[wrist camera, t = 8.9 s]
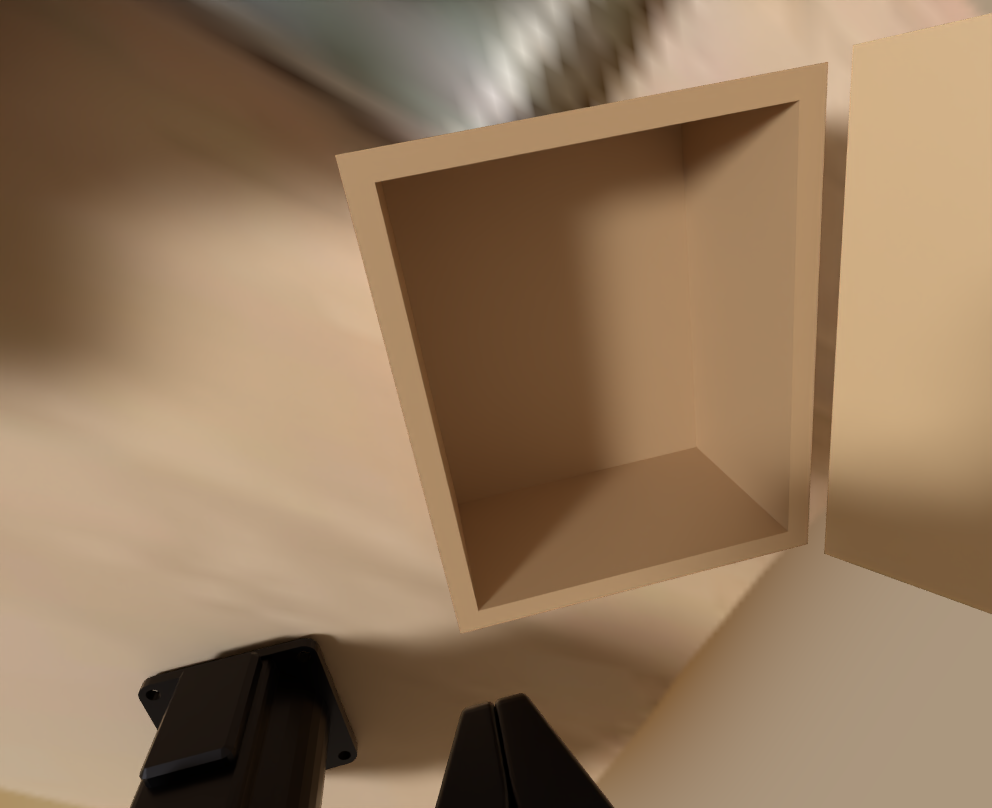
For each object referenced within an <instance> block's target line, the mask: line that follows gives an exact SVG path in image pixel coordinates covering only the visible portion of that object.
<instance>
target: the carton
mask: <svg viewBox="0 0 992 808" xmlns="http://www.w3.org/2000/svg"><path fill="white" fill-rule="evenodd" d="M827 74H828V62H825V63H820V64H815V65H809V66H804V67H799V68H793V69H788V70H783V71H778V72H772V73H767V74H762V75H756V76H751V77H746V78H741V79H735V80H730V81H725V82H719V83H714V84H709V85H703V86H698V87H693V88H688V89H682V90H677V91H672V92H666V93H661V94H656V95H651V96H645V97H640V98H635V99H629V100H624V101H619V102H613V103H608V104H603V105H598V106H592V107H587V108H582V109H576V110H571V111H566V112H561V113H555V114H550V115H545V116H539V117H534V118H529V119H523V120H518V121H513V122H508V123H502V124H497V125H492V126H486V127H481V128H476V129H471V130H465V131H460V132H455V133H449V134H444V135H439V136H433V137H428V138H423V139H418V140H412V141H407V142H402V143H396V144H391V145H386V146H381V147H375V148H370V149H365V150H359V151H354V152H349V153H343V154H338V155H335V157H336V161H337V165H338V168H339V172H340V176H341V180H342V184H343V188H344V191H345V195H346V199H347V203H348V207H349V210H350V214H351V218H352V222H353V226H354V229H355V233H356V237H357V241H358V245H359V248H360V252H361V256H362V260H363V264H364V267H365V271H366V275H367V279H368V283H369V286H370V290H371V294H372V298H373V302H374V306H375V309H376V313H377V317H378V321H379V325H380V328H381V332H382V336H383V340H384V344H385V347H386V351H387V355H388V359H389V363H390V366H391V370H392V374H393V378H394V382H395V385H396V389H397V393H398V397H399V401H400V405H401V408H402V412H403V416H404V420H405V424H406V427H407V431H408V435H409V439H410V443H411V446H412V450H413V454H414V458H415V462H416V465H417V469H418V473H419V477H420V481H421V484H422V488H423V492H424V496H425V500H426V503H427V507H428V511H429V515H430V519H431V523H432V526H433V530H434V534H435V538H436V542H437V545H438V549H439V553H440V557H441V561H442V564H443V568H444V572H445V576H446V580H447V583H448V587H449V591H450V595H451V599H452V602H453V606H454V610H455V614H456V618H457V621H458V625H459V629H460V633H461V634H462V633H465V632H469V631H473V630H477V629H481V628H485V627H489V626H493V625H496V624H500V623H504V622H508V621H512V620H516V619H520V618H523V617H527V616H531V615H535V614H539V613H543V612H547V611H551V610H554V609H558V608H562V607H566V606H570V605H574V604H578V603H581V602H585V601H589V600H593V599H597V598H601V597H605V596H609V595H612V594H616V593H620V592H624V591H628V590H632V589H636V588H639V587H643V586H647V585H651V584H655V583H659V582H663V581H667V580H670V579H674V578H678V577H682V576H686V575H690V574H694V573H698V572H701V571H705V570H709V569H713V568H717V567H721V566H725V565H728V564H732V563H736V562H740V561H744V560H748V559H752V558H756V557H759V556H763V555H767V554H771V553H775V552H779V551H783V550H786V549H790V548H794V547H798V546H802V545H806V544H808V522H809V499H810V475H811V452H812V428H813V405H814V381H815V357H816V334H817V310H818V287H819V263H820V239H821V216H822V192H823V169H824V145H825V121H826V98H827Z"/></svg>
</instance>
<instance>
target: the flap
mask: <svg viewBox="0 0 992 808" xmlns="http://www.w3.org/2000/svg"><path fill="white" fill-rule="evenodd" d="M824 554H827V555H830V556H832V557H835V558H838V559H841V560H843V561H846V562H849V563H852V564H855V565H857V566H860V567H863V568H866V569H868V570H871V571H874V572H877V573H879V574H882V575H885V576H888V577H891V578H893V579H896V580H899V581H902V582H904V583H907V584H910V585H913V586H915V587H918V588H921V589H924V590H926V591H929V592H932V593H935V594H938V595H940V596H943V597H946V598H949V599H951V600H954V601H957V602H960V603H963V604H965V605H968V606H971V607H973V608H976V609H979V610H982V611H985V612H987V613H990V614H992V13H991V14H986V15H982V16H978V17H973V18H969V19H965V20H960V21H956V22H952V23H947V24H943V25H939V26H934V27H930V28H926V29H921V30H917V31H913V32H908V33H904V34H900V35H895V36H891V37H887V38H882V39H878V40H874V41H869V42H865V43H861V44H856V45H853V55H852V72H851V90H850V108H849V125H848V143H847V161H846V178H845V196H844V214H843V231H842V249H841V267H840V284H839V302H838V320H837V337H836V355H835V373H834V391H833V408H832V426H831V444H830V461H829V479H828V497H827V514H826V532H825V550H824Z"/></svg>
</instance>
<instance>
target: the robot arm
mask: <svg viewBox="0 0 992 808" xmlns="http://www.w3.org/2000/svg"><path fill="white" fill-rule="evenodd" d="M302 651H306V652H309V653H308V654H303V653H300V652H302ZM153 690H157V692H156V691H153ZM138 696H139V699H140V701H141V703H142V704H143V706H144V708H145V709H146V711H147V713H148V715H149V716H150V718H151V720H152V721H153V723H154V725H155V727H156V728H157V730H158V731H157V733H156V735H155V738H154V740H153V742H152V745H151V747H150V750H149V752H148V754H147V757H146V759H145V762H144V764H143V766H142V769H141V771H140V776H139V777H140V778H141V782H140V785H139V787H138V789H137V792H136V794H135V797H134V799H133V802H132V804H131V806H130V808H321V805H322V796H323V787H324V778H325V770H326V769H330V768H334V767H337V766H341V765H345V764H348V763H350V762H352V761H354V760H355V759H356V757H357V742H356V739H355V737H354V734H353V731H352V729H351V726H350V724H349V721H348V719H347V716H346V714H345V711H344V709H343V706H342V704H341V701H340V698H339V696H338V693H337V691H336V688H335V686H334V683H333V681H332V678H331V676H330V673H329V670H328V668H327V665H326V663H325V660H324V658H323V655H322V653H321V650H320V648H319V645H318V644H317V642H316V641H314V640H312V639H309V638H303V639H298V640H294V641H290V642H286V643H282V644H278V645H274V646H270V647H266V648H263V649H259V650H255V651H251V652H247V653H243V654H239V655H235V656H231V657H227V658H223V659H219V660H215V661H211V662H207V663H203V664H199V665H196V666H192V667H188V668H184V669H180V670H176V671H172V672H168V673H164V674H160V675H156V676H152V677H150V678H147V679H146V680H145V681H144V682H143V684H142V686H141V689H140V691H139V694H138ZM435 808H614V807H613V805H612V804H611V803H610V802H609V800H608V799H607V798H606V796H605V795H604V794H603V793H602V791H601V790H600V789H599V787H598V786H597V785H596V783H595V782H594V781H593V780H592V778H591V777H590V776H589V774H588V773H587V772H586V771H585V769H584V768H583V767H582V765H581V764H580V763H579V762H578V760H577V759H576V758H575V756H574V755H573V754H572V753H571V751H570V750H569V749H568V747H567V746H566V745H565V744H564V742H563V741H562V740H561V738H560V737H559V736H558V735H557V733H556V732H555V731H554V729H553V728H552V727H551V726H550V724H549V723H548V722H547V720H546V719H545V718H544V717H543V715H542V714H541V713H540V711H539V710H538V709H537V708H536V706H535V705H534V704H533V702H532V701H531V700H530V699H529V697H528V696H526V695H525V694H523V693H519V694H516V695H512V696H508V697H504V698H500V699H498V700H497V701H496V703H495V706H494V704H493V703H491V702H485V703H481V704H478V705H474V706H470V707H467V708H465V709H464V710H463V711H462V713H461V716H460V719H459V723H458V726H457V730H456V734H455V737H454V741H453V745H452V748H451V752H450V756H449V759H448V763H447V767H446V770H445V774H444V778H443V781H442V785H441V788H440V792H439V796H438V799H437V803H436V807H435Z"/></svg>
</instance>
